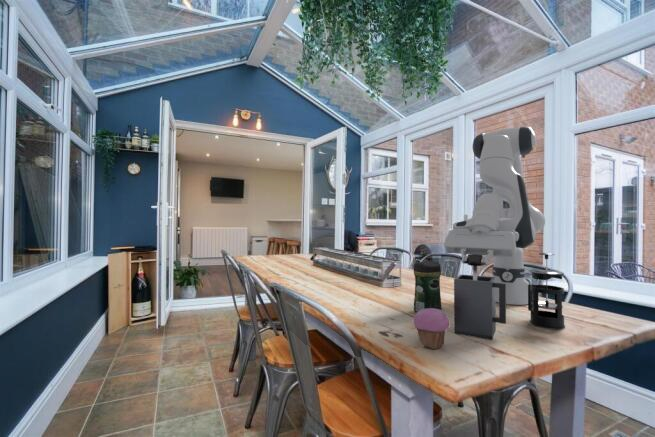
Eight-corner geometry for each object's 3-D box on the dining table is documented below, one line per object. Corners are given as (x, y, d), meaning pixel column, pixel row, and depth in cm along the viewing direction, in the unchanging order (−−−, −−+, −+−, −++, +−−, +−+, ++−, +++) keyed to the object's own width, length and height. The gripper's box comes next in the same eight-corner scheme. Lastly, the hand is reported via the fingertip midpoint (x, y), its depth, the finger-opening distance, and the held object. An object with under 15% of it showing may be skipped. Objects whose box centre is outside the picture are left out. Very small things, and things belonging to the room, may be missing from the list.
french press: (575, 328, 99) (574, 254, 99) (550, 331, 96) (549, 254, 97) (541, 317, 110) (540, 251, 110) (518, 319, 108) (518, 251, 108)
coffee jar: (429, 308, 122) (429, 259, 123) (445, 313, 115) (445, 261, 116) (409, 310, 118) (409, 260, 118) (424, 316, 111) (424, 263, 111)
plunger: (463, 305, 101) (463, 253, 101) (490, 309, 96) (490, 254, 97) (459, 310, 94) (459, 255, 94) (487, 315, 90) (487, 256, 90)
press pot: (460, 324, 102) (460, 274, 102) (507, 332, 95) (506, 278, 95) (454, 333, 94) (454, 278, 94) (504, 342, 87) (504, 283, 87)
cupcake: (454, 346, 84) (454, 308, 84) (441, 356, 77) (441, 315, 78) (422, 338, 90) (422, 302, 90) (407, 346, 83) (407, 308, 83)
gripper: (521, 238, 98) (515, 273, 90) (453, 236, 111) (443, 266, 103) (518, 223, 94) (512, 258, 87) (448, 223, 107) (437, 253, 100)
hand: (474, 263), depth 95 cm, fingers closed on plunger, 4 cm apart
